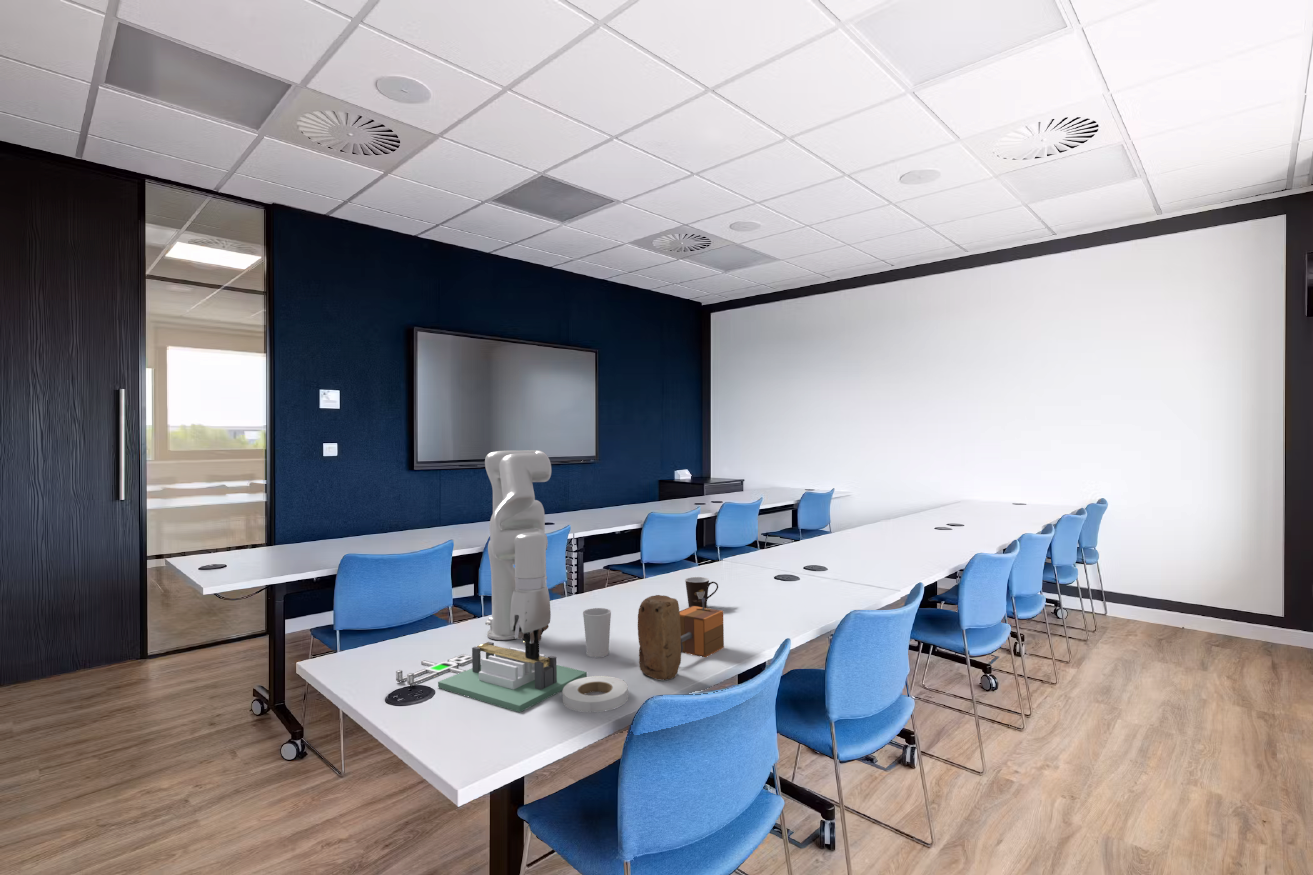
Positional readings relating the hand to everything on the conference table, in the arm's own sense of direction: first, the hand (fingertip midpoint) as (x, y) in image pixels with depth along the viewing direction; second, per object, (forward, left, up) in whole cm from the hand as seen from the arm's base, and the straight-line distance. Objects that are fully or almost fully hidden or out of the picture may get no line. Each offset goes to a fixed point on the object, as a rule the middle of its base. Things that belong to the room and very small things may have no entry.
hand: (532, 657), depth 157 cm
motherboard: (-7, 0, -8) cm, 10 cm away
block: (+22, +23, -8) cm, 33 cm away
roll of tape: (+17, +3, -8) cm, 19 cm away
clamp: (+21, +41, -8) cm, 47 cm away
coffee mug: (0, +86, -8) cm, 87 cm away
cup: (-2, +28, -8) cm, 29 cm away
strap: (-7, 0, -2) cm, 8 cm away
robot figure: (-31, -4, -8) cm, 32 cm away
